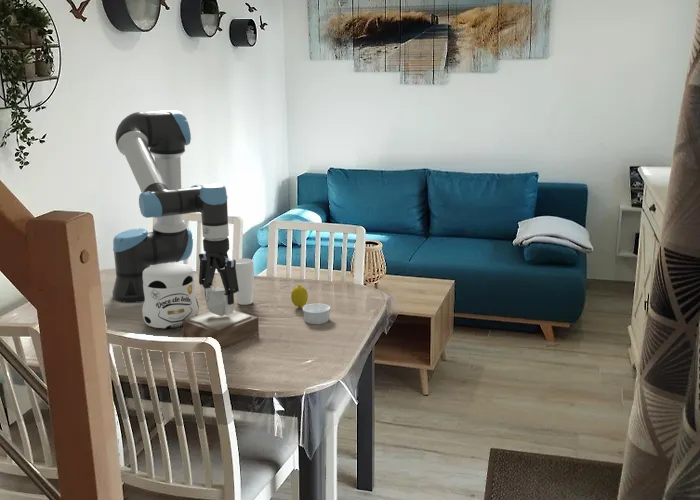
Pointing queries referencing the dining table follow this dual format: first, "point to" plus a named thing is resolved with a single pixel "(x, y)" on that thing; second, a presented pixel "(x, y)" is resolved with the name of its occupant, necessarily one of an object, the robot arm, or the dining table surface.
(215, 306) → the die
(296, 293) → the lemon
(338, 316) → the dining table surface
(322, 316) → the ramekin
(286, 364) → the dining table surface
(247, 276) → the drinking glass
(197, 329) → the plinth
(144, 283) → the milk container
